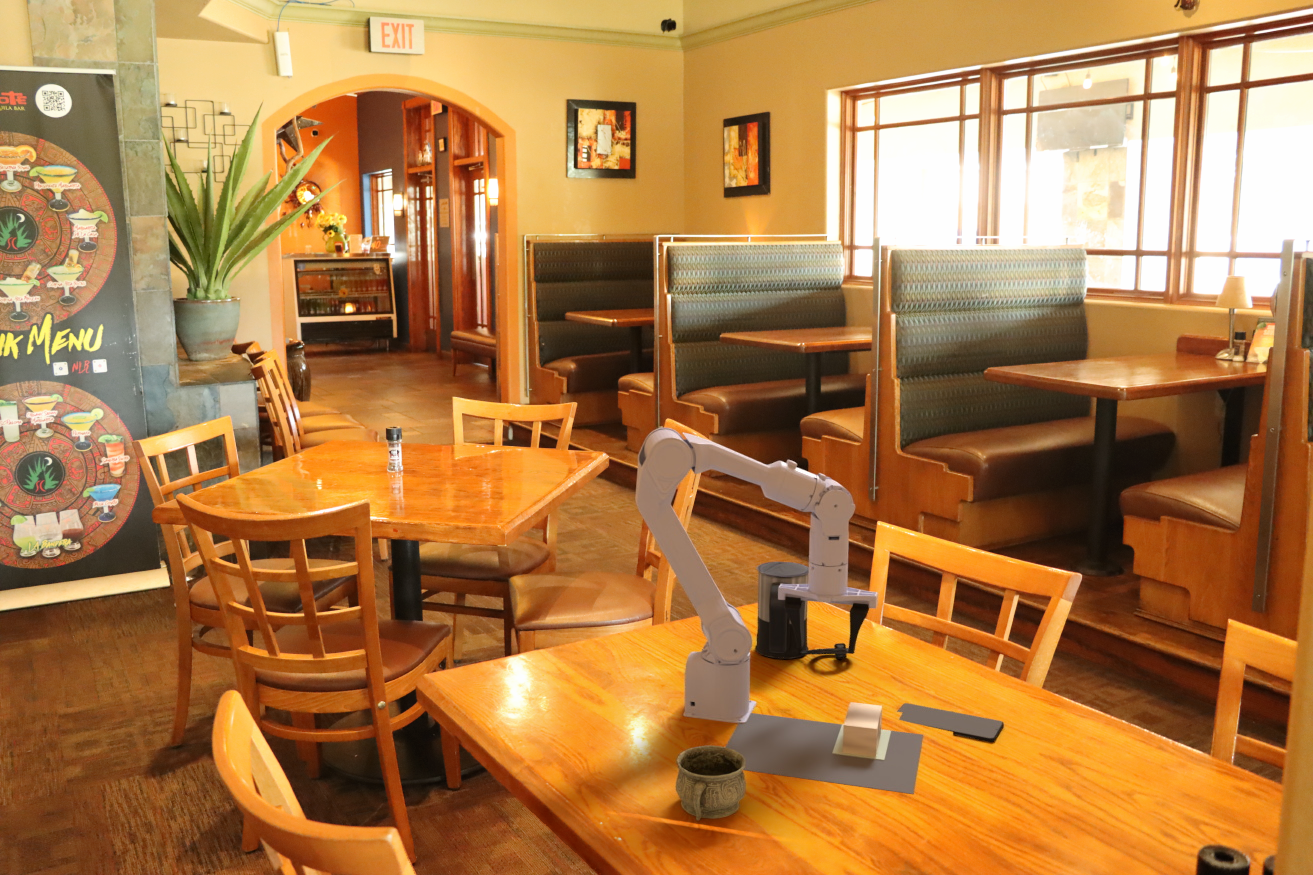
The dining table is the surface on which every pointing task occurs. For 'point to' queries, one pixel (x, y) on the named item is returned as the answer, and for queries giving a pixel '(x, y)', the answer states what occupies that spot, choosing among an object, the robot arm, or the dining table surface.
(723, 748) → the vessel
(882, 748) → the rubber mat
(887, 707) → the dining table surface
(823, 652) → the milk frother
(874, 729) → the birch block
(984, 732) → the smartphone
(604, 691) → the dining table surface
